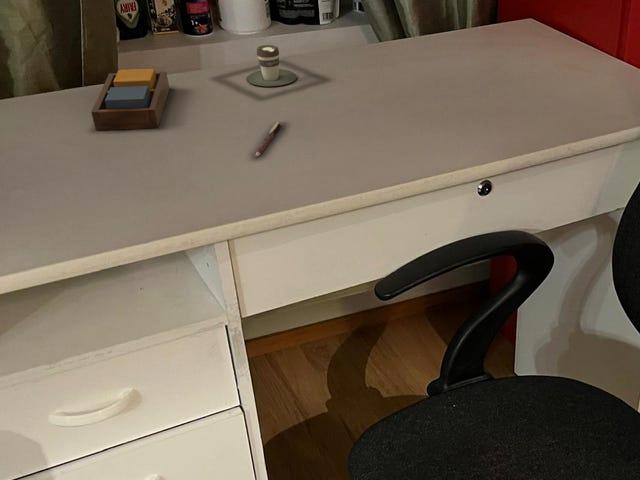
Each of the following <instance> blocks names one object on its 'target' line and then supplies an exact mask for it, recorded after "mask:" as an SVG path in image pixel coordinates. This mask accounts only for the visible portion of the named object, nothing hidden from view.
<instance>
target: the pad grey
mask: <svg viewBox="0 0 640 480" xmlns="http://www.w3.org/2000/svg"><path fill="white" fill-rule="evenodd" d="M105 102H106V106H107V110H109V109H133V108H149V107H150V104H151V97H150V92H149V88H148V86H134V87H111V88H110V90H109V93H108V95H107V97H106V99H105Z"/></svg>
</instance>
